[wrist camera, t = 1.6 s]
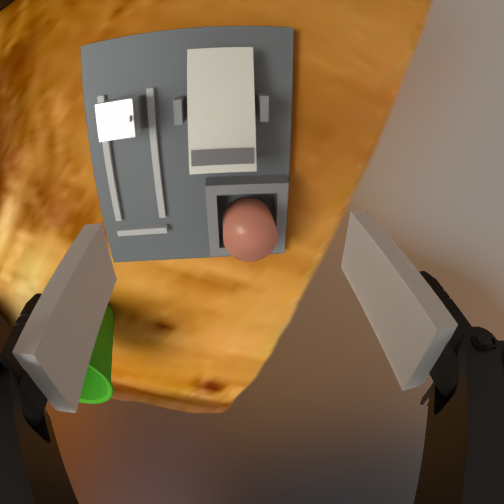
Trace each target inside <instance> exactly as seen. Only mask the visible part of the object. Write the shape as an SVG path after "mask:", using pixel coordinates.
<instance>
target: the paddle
mask: <svg viewBox="0 0 504 504" xmlns="http://www.w3.org/2000/svg"><path fill="white" fill-rule="evenodd" d="M187 117H188V152H189V175H191V174H207V173H227V172H255V171H257V162H256V127H255V94H254V63H253V47H220V48H200V49H187Z"/></svg>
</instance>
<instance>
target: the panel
mask: <svg viewBox="0 0 504 504" xmlns="http://www.w3.org/2000/svg"><path fill="white" fill-rule="evenodd" d="M220 47H253V63H254V94H255V127H256V162H257V171H255V172H227V173H207V174H191V175H189V152H188V117H187V49H200V48H220ZM81 67H82V83H83V95H84V105H85V115H86V123H87V131H88V138H89V145H90V152H91V158H92V164H93V170H94V176H95V181H96V187H97V192H98V197H99V202H100V207H101V211H102V216H103V220H104V225H105V229H106V233H107V237H108V241H109V245H110V249H111V253H112V257H113V260H114V262H128V261H148V260H167V259H186V258H204V257H223V256H232V255H230V254H229V253H228V251H227V250H226V248H225V246H224V241H223V222H222V218H223V213H224V211H225V209H226V207H227V206H228V205H229V204H230V203H231V202H233V201H234V200H236V199H238V198H242V197H255V198H258V199H260V200H262V201H263V202H264V203H266V205H267V206H268V207H269V209H270V211H271V214H272V217H273V220H274V223H275V225H276V228H277V231H278V241H277V244H276V246H275V248H274V250H273V251H272V252H271V253H270V254H278V253H285V239H286V223H287V206H288V187H289V167H290V144H291V117H292V83H293V28H287V27H268V26H217V27H198V28H185V29H175V30H166V31H157V32H150V33H143V34H137V35H131V36H125V37H120V38H115V39H110V40H105V41H101V42H96V43H92V44H88V45H84V46H81ZM137 95H143V108H144V121H145V129H144V130H143V131H142V132H141V133H139V134H138V135H137V136H136V137H132V138H124V139H117V140H110V141H103V142H99V136H98V128H97V119H96V110H95V105H96V104H99V103H102V102H105V101H107V100H111V99H117V98H123V97H130V96H137Z"/></svg>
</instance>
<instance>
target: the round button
mask: <svg viewBox="0 0 504 504" xmlns="http://www.w3.org/2000/svg"><path fill="white" fill-rule="evenodd" d="M222 222H223V241H224V246H225V248H226V250H227V251H228V253H229V254H230V255H232V256H233V257H234V258H236V259H239V260H242V261H257V260H260V259H262V258H264V257H266V256H268V255H269V254H270V253H271V252H272V251H273V250H274V248H275V246H276V244H277V241H278V231H277V228H276V225H275V223H274V220H273V217H272V214H271V211H270V209H269V207H268V206H267V205H266V203H264V202H263V201H262V200H260V199H258V198H255V197H242V198H238V199H236V200H234V201H233V202H231V203H230V204H229V205H228V206H227V207H226V209H225V211H224V213H223V218H222Z"/></svg>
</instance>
